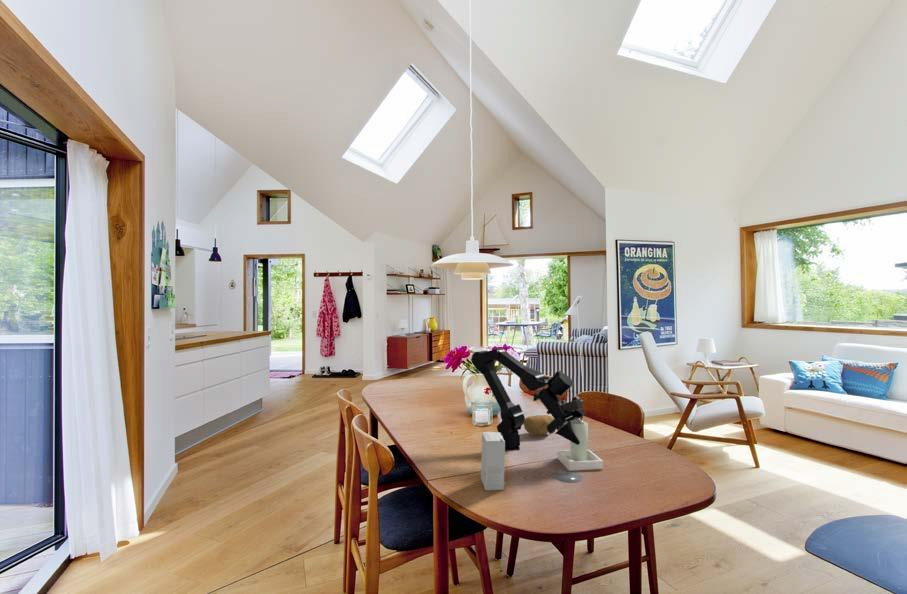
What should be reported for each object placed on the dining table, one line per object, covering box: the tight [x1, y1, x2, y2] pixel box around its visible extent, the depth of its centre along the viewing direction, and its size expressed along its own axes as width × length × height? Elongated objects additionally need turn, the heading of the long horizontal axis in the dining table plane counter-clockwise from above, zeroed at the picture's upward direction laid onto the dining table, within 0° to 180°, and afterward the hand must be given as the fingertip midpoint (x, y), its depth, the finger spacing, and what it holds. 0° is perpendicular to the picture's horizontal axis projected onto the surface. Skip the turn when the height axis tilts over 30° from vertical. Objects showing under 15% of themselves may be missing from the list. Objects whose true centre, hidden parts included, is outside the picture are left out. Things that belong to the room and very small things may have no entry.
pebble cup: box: [569, 418, 589, 461], centre depth 149 cm, size 6×6×14 cm
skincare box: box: [480, 431, 506, 491], centre depth 133 cm, size 8×6×15 cm
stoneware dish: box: [556, 448, 604, 472], centre depth 149 cm, size 11×11×3 cm
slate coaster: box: [552, 470, 584, 484], centre depth 138 cm, size 9×9×1 cm
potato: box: [523, 414, 554, 437], centre depth 183 cm, size 10×14×8 cm
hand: (582, 441), depth 148 cm, fingers closed on pebble cup, 6 cm apart
